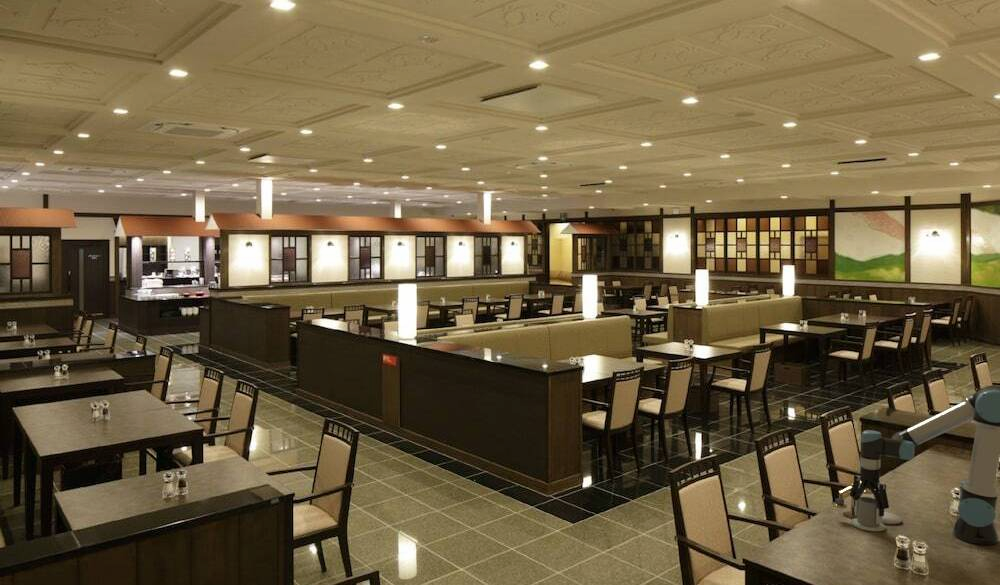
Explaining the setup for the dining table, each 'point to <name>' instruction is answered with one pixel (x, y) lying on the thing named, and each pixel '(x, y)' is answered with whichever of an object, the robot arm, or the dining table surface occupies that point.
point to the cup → (867, 512)
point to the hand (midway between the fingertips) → (868, 518)
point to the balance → (840, 502)
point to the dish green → (867, 528)
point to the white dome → (891, 518)
